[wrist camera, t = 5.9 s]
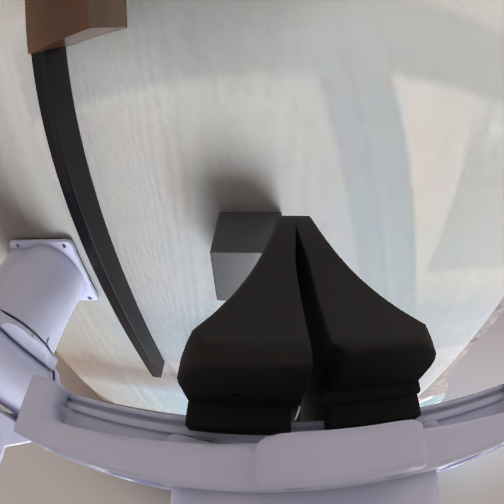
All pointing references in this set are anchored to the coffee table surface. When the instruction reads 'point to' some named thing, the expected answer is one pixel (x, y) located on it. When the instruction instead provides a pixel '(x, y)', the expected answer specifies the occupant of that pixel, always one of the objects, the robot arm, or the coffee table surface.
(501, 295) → the coffee table surface
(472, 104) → the coffee table surface
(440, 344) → the coffee table surface
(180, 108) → the coffee table surface
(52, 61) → the straightedge
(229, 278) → the block charcoal
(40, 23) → the block walnut
